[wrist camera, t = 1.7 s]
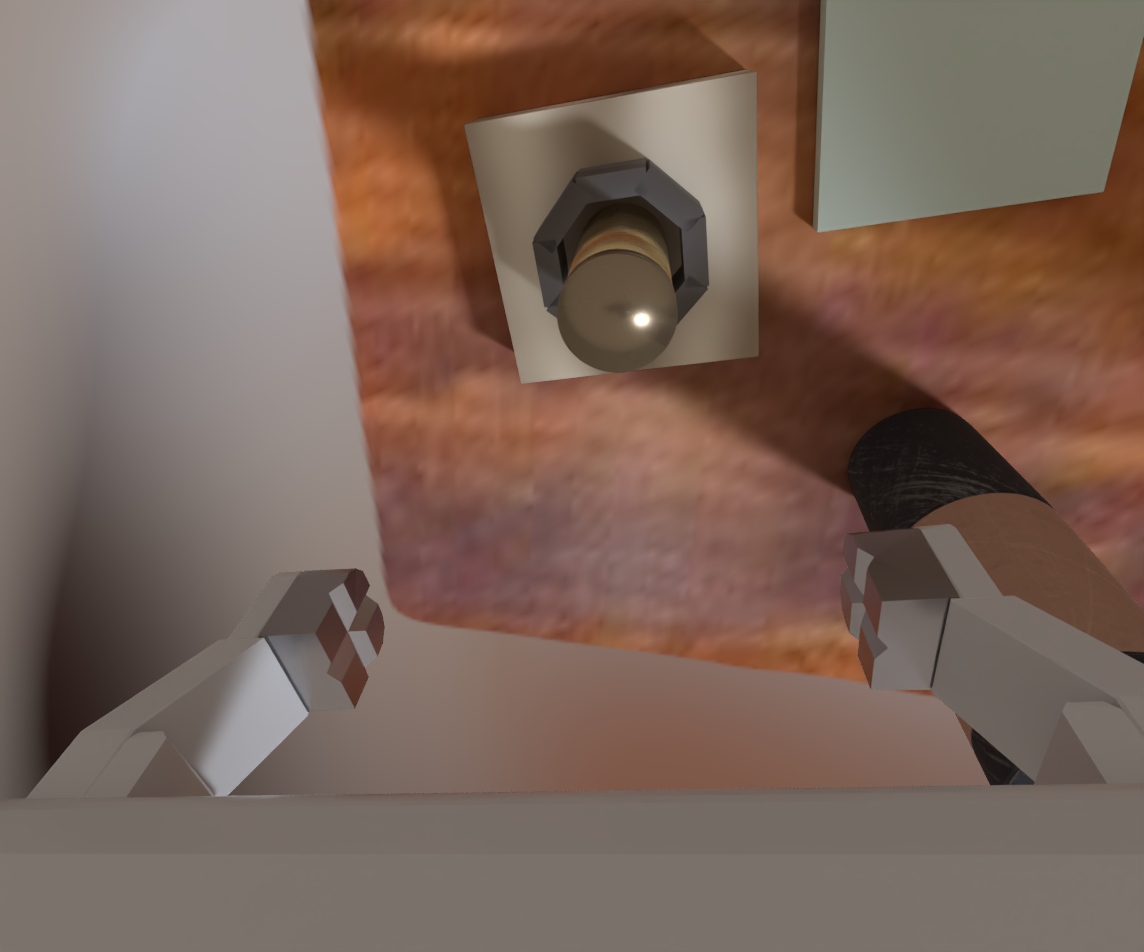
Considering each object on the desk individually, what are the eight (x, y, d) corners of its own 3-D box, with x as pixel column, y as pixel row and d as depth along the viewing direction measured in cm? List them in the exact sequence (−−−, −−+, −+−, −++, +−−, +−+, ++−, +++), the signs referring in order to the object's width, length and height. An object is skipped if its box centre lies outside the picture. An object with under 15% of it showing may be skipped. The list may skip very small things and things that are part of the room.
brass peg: (663, 194, 28) (672, 246, 21) (671, 287, 30) (682, 365, 23) (570, 209, 29) (547, 264, 21) (584, 299, 31) (567, 378, 23)
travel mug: (837, 518, 40) (978, 850, 23) (847, 409, 36) (1026, 716, 19) (970, 510, 39) (1218, 852, 22) (996, 396, 35) (1322, 710, 18)
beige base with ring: (746, 69, 28) (767, 73, 23) (750, 334, 34) (767, 377, 30) (478, 118, 30) (449, 130, 25) (529, 360, 36) (513, 405, 32)
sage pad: (1180, -177, 23) (1200, -185, 22) (1090, 187, 29) (1103, 191, 28) (824, -98, 25) (830, -103, 24) (812, 227, 31) (817, 232, 30)
